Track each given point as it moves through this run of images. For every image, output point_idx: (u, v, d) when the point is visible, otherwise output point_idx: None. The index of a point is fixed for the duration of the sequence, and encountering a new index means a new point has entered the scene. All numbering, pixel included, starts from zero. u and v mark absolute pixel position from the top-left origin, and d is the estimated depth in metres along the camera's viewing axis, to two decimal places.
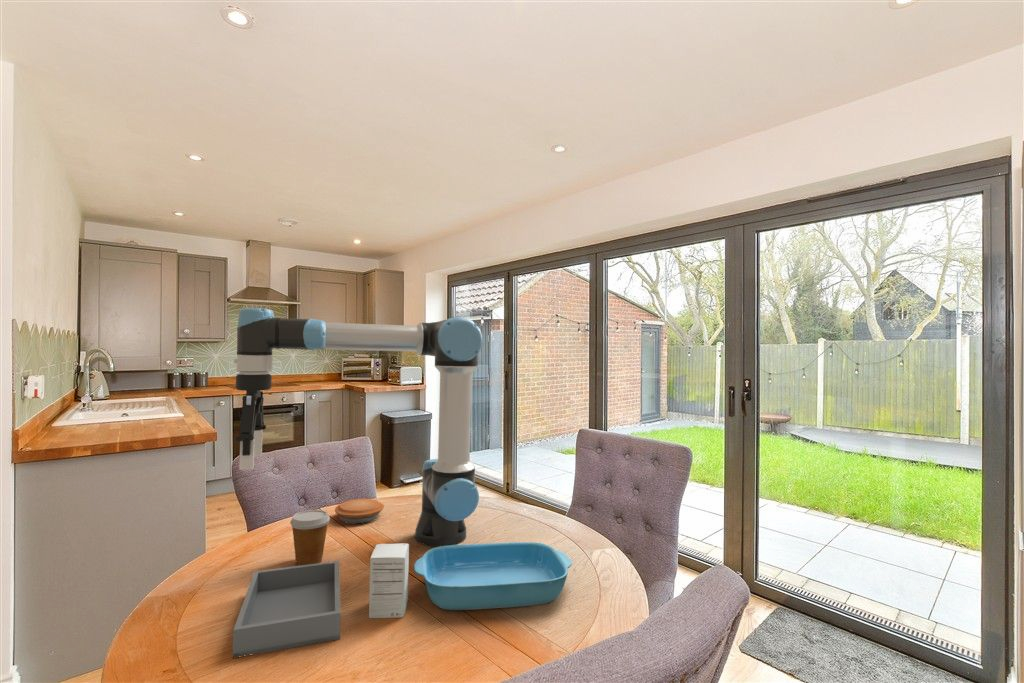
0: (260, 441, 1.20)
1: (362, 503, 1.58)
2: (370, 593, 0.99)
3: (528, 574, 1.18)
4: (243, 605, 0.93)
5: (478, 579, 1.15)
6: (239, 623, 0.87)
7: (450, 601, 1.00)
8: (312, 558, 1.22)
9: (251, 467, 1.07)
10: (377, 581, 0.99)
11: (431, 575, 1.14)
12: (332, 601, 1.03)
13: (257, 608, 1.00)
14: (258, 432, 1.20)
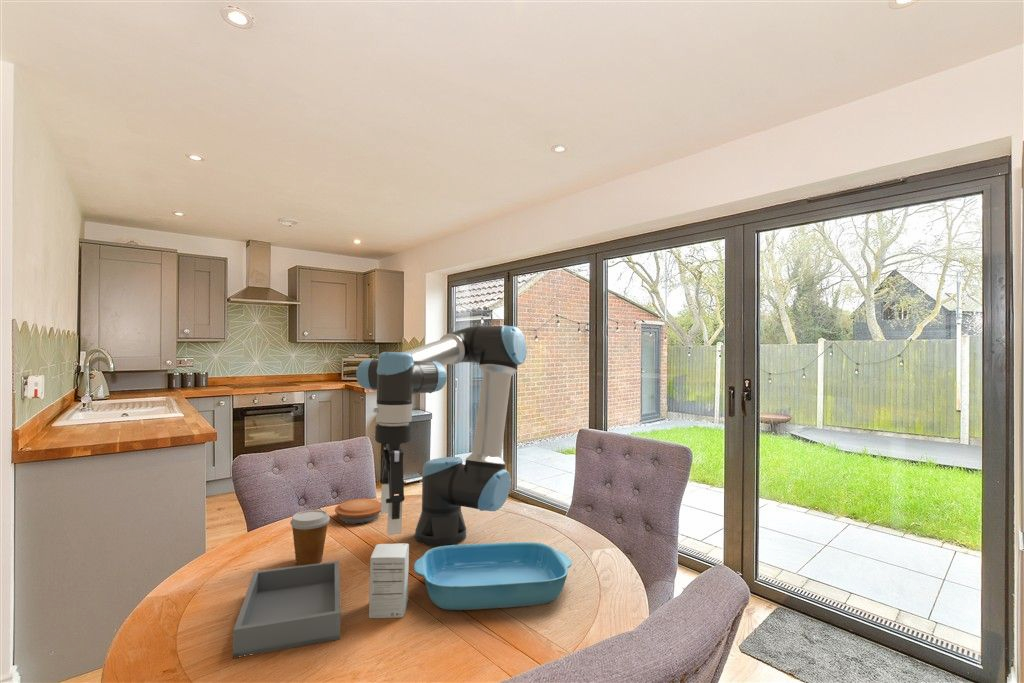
0: None
1: (362, 503, 1.58)
2: (370, 593, 0.99)
3: (528, 574, 1.18)
4: (243, 605, 0.93)
5: (478, 579, 1.15)
6: (239, 623, 0.87)
7: (450, 601, 1.00)
8: (312, 558, 1.22)
9: (399, 531, 0.96)
10: (377, 581, 0.99)
11: (431, 575, 1.14)
12: (332, 601, 1.03)
13: (257, 608, 1.00)
14: None
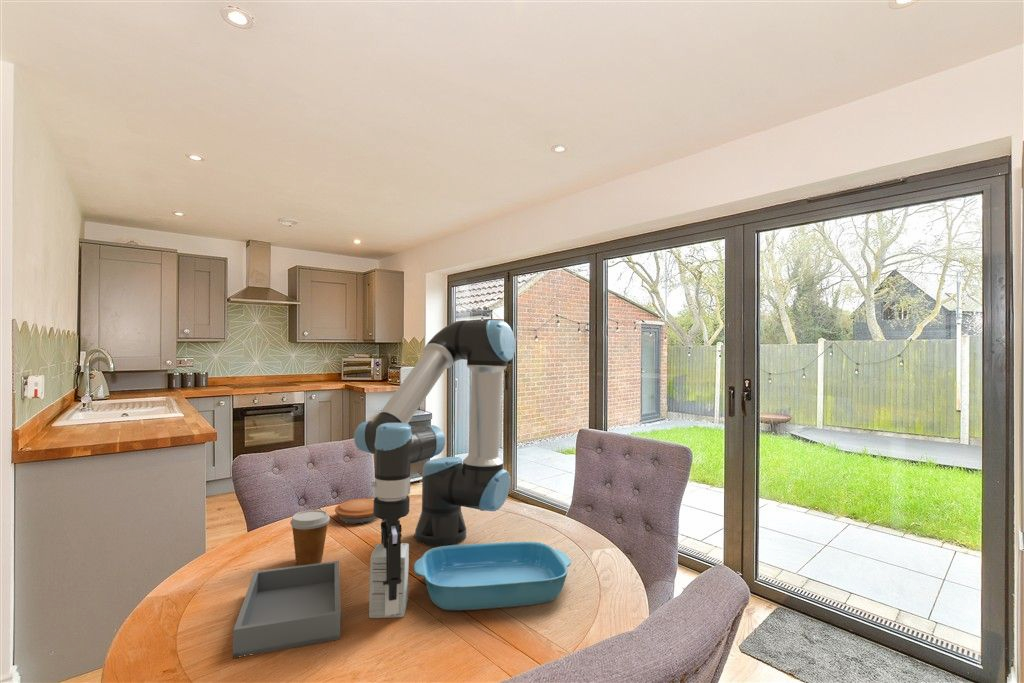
0: None
1: (362, 503, 1.58)
2: (370, 593, 0.99)
3: (527, 573, 1.19)
4: (243, 605, 0.93)
5: (477, 579, 1.15)
6: (239, 623, 0.87)
7: (451, 601, 1.00)
8: (312, 558, 1.22)
9: (397, 611, 0.98)
10: (377, 581, 0.99)
11: (430, 576, 1.13)
12: (332, 601, 1.03)
13: (257, 608, 1.00)
14: None
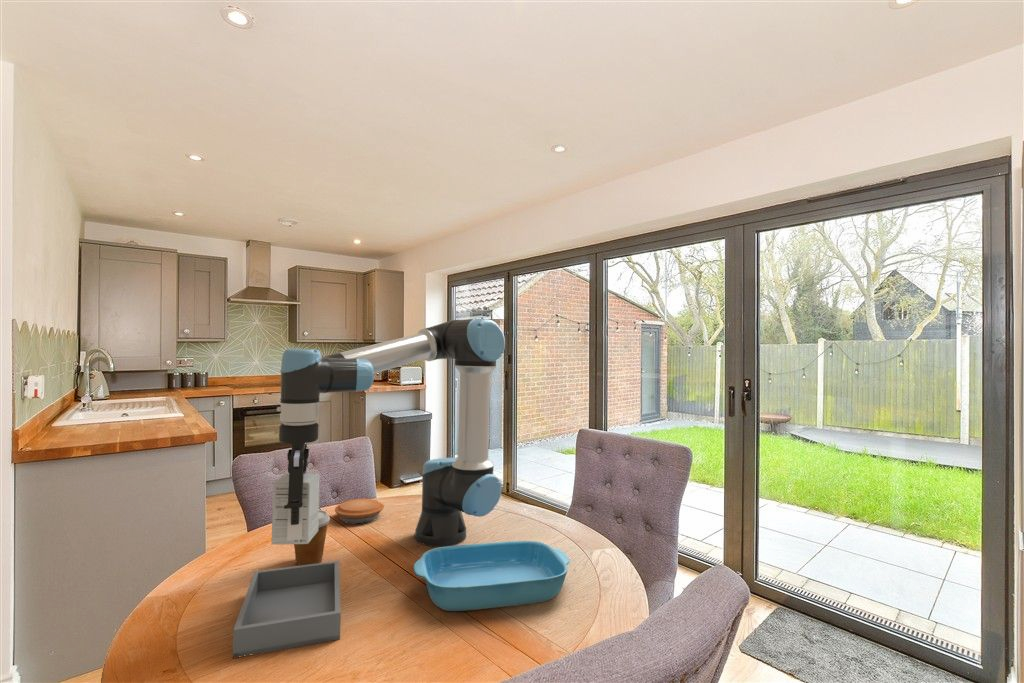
0: None
1: (362, 503, 1.58)
2: (273, 519, 0.96)
3: (526, 572, 1.19)
4: (243, 605, 0.93)
5: (476, 579, 1.15)
6: (239, 623, 0.87)
7: (453, 602, 1.00)
8: (312, 558, 1.22)
9: (300, 537, 0.96)
10: (280, 507, 0.96)
11: (429, 577, 1.13)
12: (332, 601, 1.03)
13: (257, 608, 1.00)
14: None
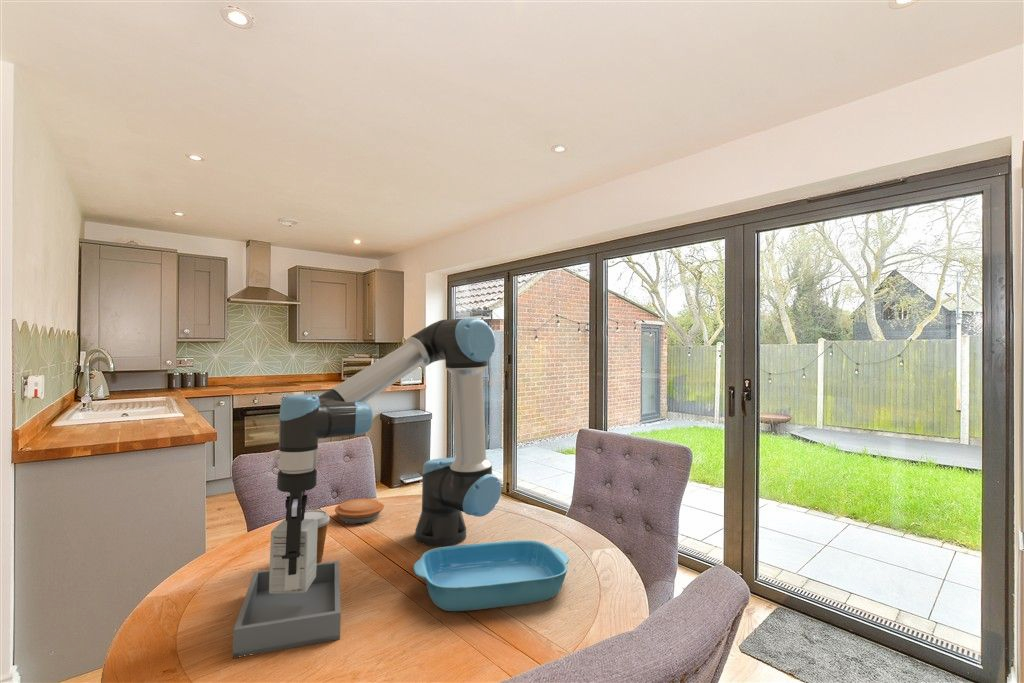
0: None
1: (362, 503, 1.58)
2: (270, 568, 0.96)
3: (525, 572, 1.19)
4: (243, 605, 0.93)
5: (476, 579, 1.15)
6: (239, 623, 0.87)
7: (454, 602, 1.00)
8: None
9: (297, 586, 0.95)
10: (278, 556, 0.96)
11: (429, 577, 1.13)
12: (332, 601, 1.03)
13: (257, 608, 1.00)
14: None
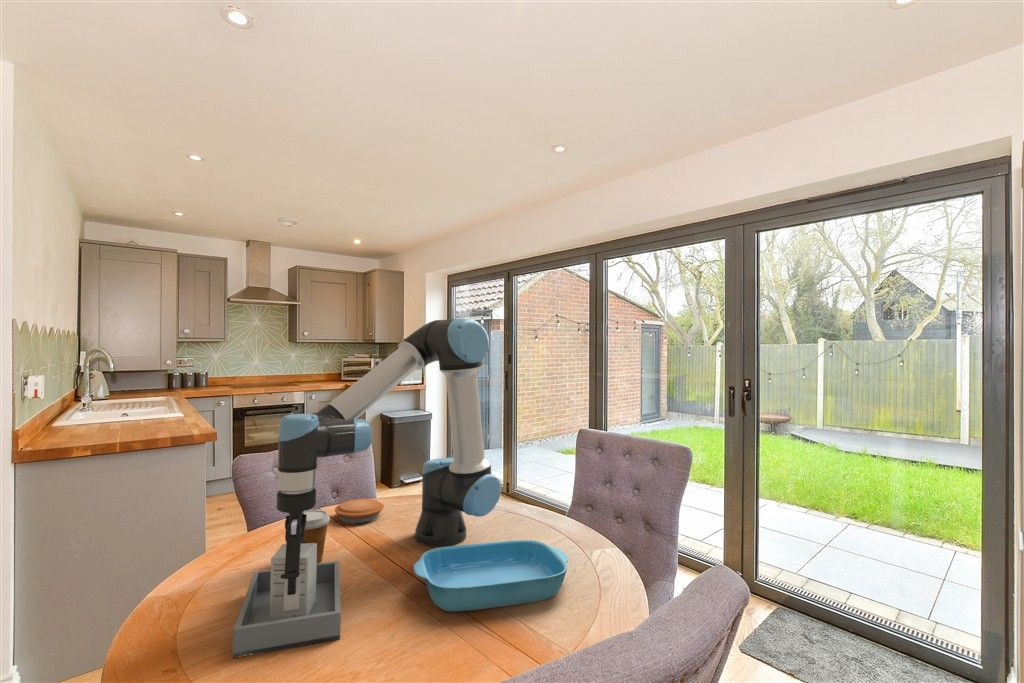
0: None
1: (362, 503, 1.58)
2: (271, 595, 0.96)
3: (524, 571, 1.20)
4: (243, 605, 0.93)
5: (475, 579, 1.15)
6: (239, 623, 0.87)
7: (455, 602, 1.00)
8: None
9: (297, 606, 0.94)
10: (278, 583, 0.96)
11: (428, 578, 1.12)
12: (332, 601, 1.03)
13: (257, 608, 1.00)
14: None
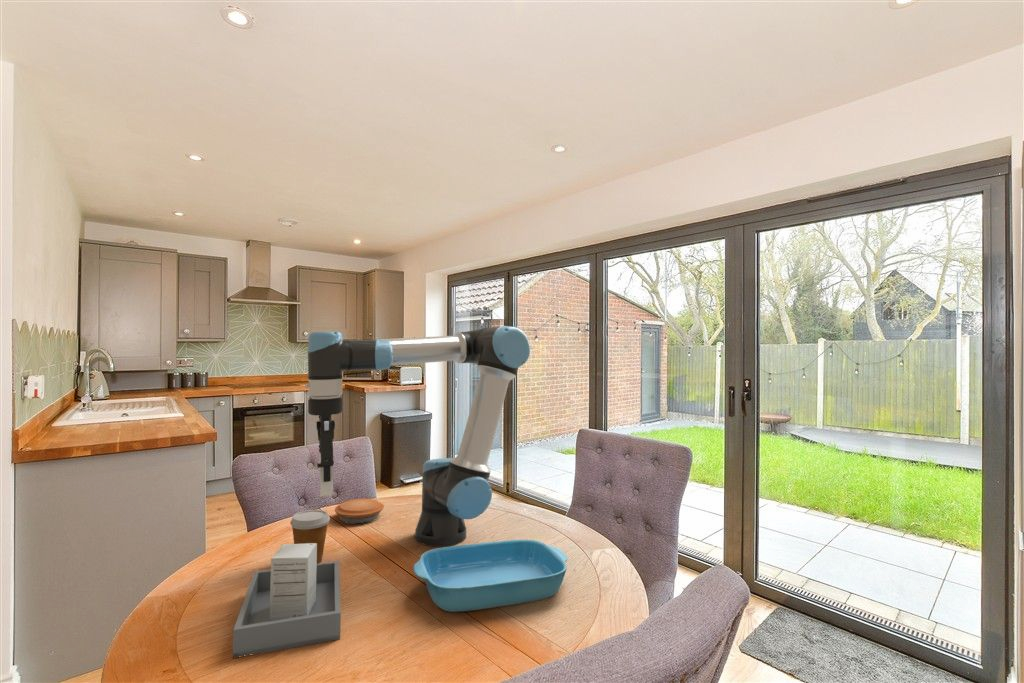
0: None
1: (362, 503, 1.58)
2: (271, 595, 0.96)
3: (523, 571, 1.20)
4: (243, 605, 0.93)
5: (475, 579, 1.15)
6: (239, 623, 0.87)
7: (457, 603, 1.00)
8: None
9: (331, 493, 1.07)
10: (278, 583, 0.96)
11: None
12: (332, 601, 1.03)
13: (257, 608, 1.00)
14: None
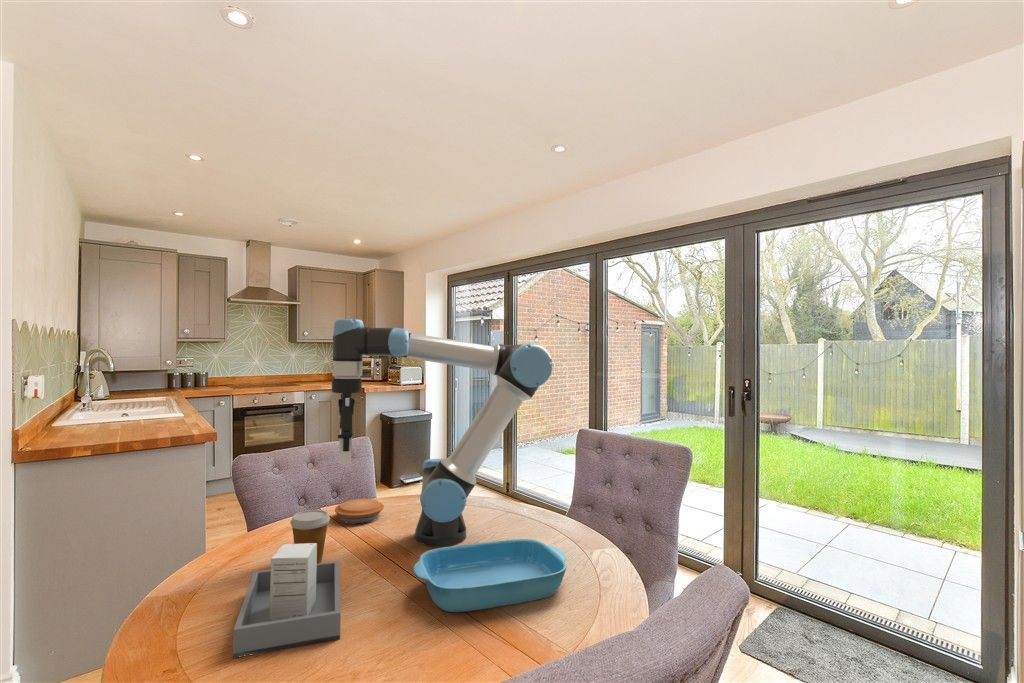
0: None
1: (362, 503, 1.58)
2: (271, 595, 0.96)
3: (521, 570, 1.20)
4: (243, 605, 0.93)
5: (474, 579, 1.15)
6: (239, 623, 0.87)
7: (458, 603, 1.00)
8: None
9: (350, 462, 1.20)
10: (278, 583, 0.96)
11: None
12: (332, 601, 1.03)
13: (257, 608, 1.00)
14: None
